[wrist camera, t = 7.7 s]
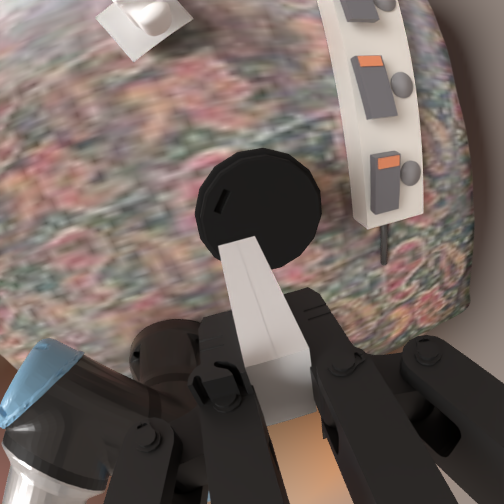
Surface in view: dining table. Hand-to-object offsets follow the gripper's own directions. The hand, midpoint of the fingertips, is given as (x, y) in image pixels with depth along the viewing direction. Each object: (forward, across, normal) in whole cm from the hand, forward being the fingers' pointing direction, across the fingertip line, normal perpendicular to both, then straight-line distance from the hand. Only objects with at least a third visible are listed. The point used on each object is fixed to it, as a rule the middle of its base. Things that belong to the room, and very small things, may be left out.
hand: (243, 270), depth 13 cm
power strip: (+24, -21, -2) cm, 32 cm away
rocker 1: (+19, -18, -6) cm, 27 cm away
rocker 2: (+19, -18, +5) cm, 27 cm away
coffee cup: (+25, -3, +3) cm, 25 cm away
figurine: (+25, +3, -18) cm, 31 cm away
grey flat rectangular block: (+19, -18, -17) cm, 31 cm away
